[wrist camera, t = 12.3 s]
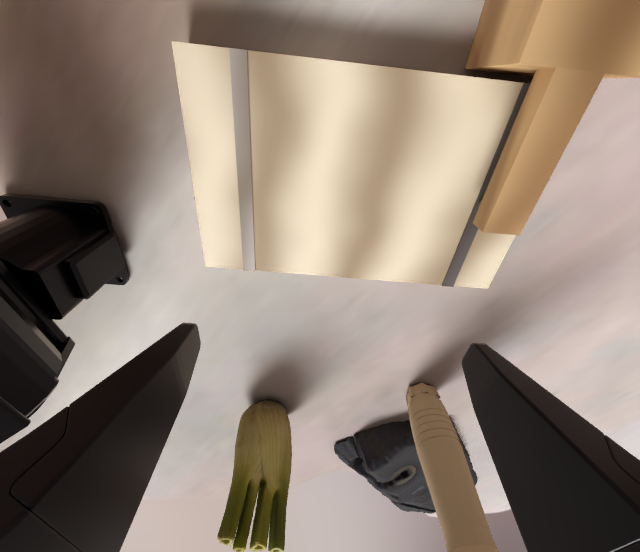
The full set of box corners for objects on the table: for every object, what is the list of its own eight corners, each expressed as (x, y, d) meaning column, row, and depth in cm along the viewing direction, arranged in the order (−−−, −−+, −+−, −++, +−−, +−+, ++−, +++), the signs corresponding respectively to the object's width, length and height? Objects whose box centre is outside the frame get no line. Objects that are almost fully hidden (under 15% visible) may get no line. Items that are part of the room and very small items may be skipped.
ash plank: (214, 252, 21) (204, 267, 19) (188, 46, 15) (170, 40, 13) (475, 273, 22) (488, 289, 20) (561, 90, 16) (592, 90, 14)
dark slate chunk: (386, 496, 47) (392, 534, 43) (326, 435, 37) (326, 477, 33) (481, 477, 43) (497, 517, 39) (445, 402, 33) (462, 446, 29)
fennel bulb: (300, 416, 33) (292, 557, 23) (264, 426, 34) (242, 565, 24) (274, 389, 30) (252, 536, 20) (236, 401, 32) (197, 546, 22)
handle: (430, 365, 28) (518, 587, 16) (451, 398, 31) (539, 606, 19) (386, 382, 30) (434, 597, 17) (410, 411, 33) (465, 613, 20)
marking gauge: (425, 198, 19) (454, 229, 15) (497, -40, 13) (581, -99, 9) (497, 204, 19) (546, 237, 15) (601, -26, 13) (731, -77, 9)
